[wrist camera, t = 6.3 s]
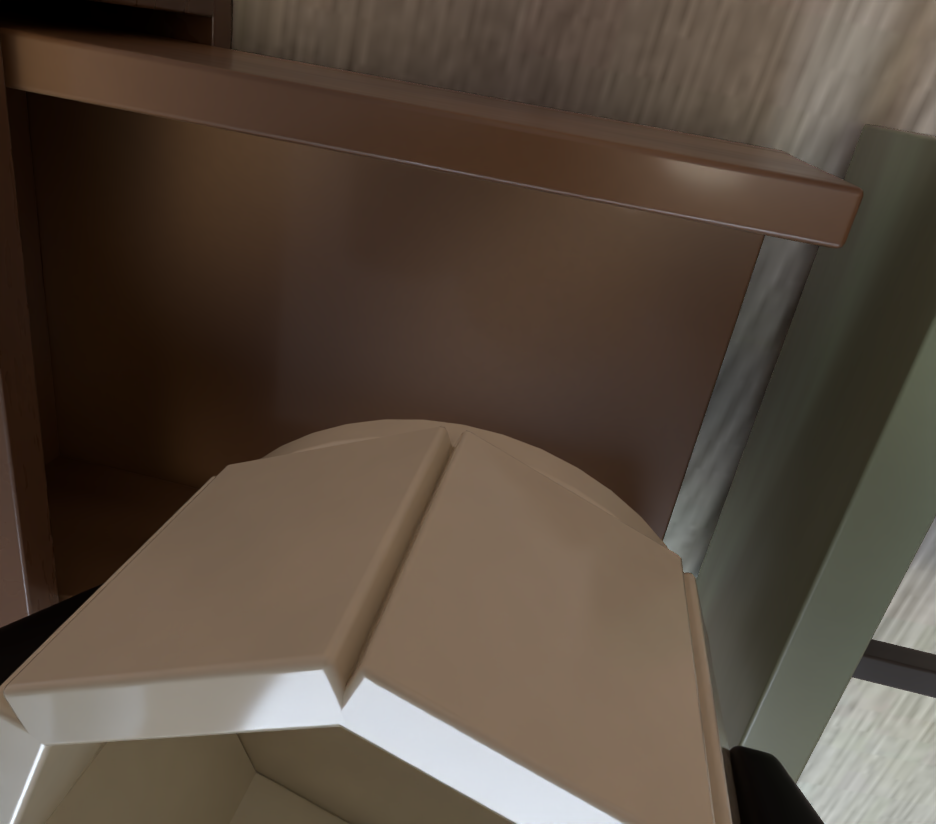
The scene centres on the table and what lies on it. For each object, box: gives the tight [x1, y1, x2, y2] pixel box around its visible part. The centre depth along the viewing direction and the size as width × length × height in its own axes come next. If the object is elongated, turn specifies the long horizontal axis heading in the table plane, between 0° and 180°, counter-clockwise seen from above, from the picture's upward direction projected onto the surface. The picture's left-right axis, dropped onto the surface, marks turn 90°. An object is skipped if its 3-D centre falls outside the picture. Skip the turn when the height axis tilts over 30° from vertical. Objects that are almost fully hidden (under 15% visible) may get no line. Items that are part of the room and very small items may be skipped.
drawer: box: [0, 8, 936, 783], centre depth 15 cm, size 23×12×6 cm, turn 81°
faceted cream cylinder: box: [0, 419, 741, 824], centre depth 7 cm, size 6×6×4 cm
